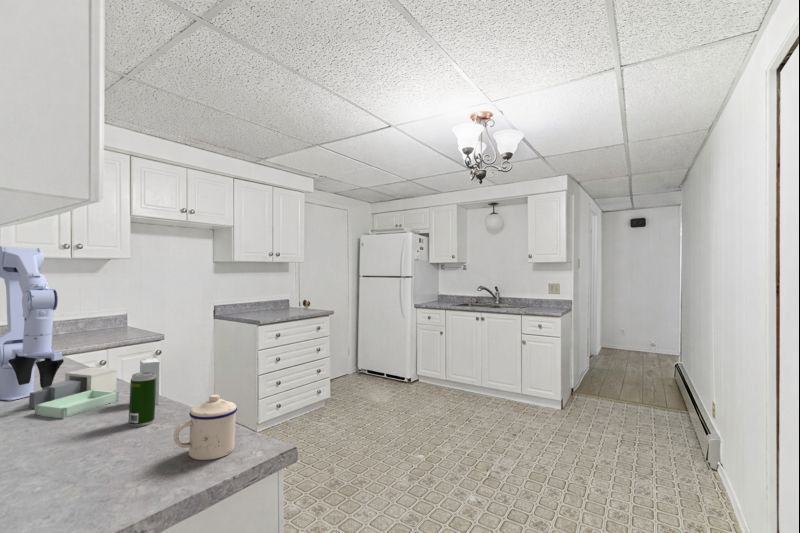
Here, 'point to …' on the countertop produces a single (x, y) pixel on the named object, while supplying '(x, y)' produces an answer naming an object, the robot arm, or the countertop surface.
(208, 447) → the teacup with lid
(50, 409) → the tray
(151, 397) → the beer can
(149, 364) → the skincare box
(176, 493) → the countertop surface
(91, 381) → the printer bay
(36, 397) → the grey bottle-shaped block
